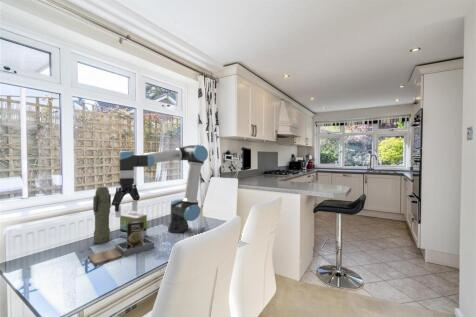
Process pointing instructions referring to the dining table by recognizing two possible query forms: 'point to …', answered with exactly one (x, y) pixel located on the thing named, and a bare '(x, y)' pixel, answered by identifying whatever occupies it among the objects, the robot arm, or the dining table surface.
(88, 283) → the dining table surface
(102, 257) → the board
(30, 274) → the dining table surface
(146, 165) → the robot arm
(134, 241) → the coffee box
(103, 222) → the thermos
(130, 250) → the bin
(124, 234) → the tea box
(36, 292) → the dining table surface
